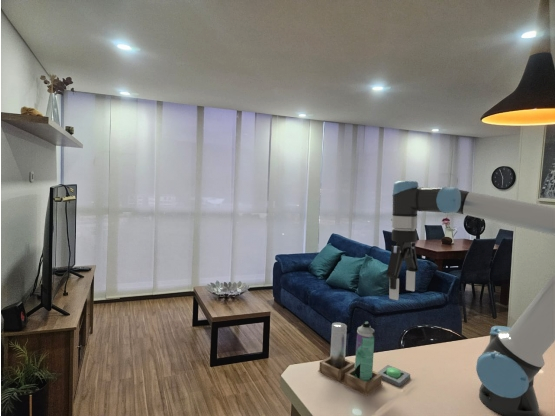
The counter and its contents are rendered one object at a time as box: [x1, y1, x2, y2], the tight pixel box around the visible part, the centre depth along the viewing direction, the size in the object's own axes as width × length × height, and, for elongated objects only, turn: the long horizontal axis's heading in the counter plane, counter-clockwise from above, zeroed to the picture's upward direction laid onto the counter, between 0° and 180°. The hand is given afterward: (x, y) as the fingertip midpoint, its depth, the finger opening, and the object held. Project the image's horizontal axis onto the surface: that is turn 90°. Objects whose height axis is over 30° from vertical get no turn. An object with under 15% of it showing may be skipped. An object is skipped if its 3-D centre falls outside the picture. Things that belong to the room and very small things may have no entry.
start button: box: [386, 366, 401, 379], centre depth 118 cm, size 4×4×3 cm
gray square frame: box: [377, 364, 411, 388], centre depth 118 cm, size 8×8×2 cm
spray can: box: [354, 320, 376, 382], centre depth 113 cm, size 6×6×20 cm
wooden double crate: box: [317, 356, 384, 396], centre depth 117 cm, size 19×10×4 cm, turn 46°
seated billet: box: [329, 321, 348, 369], centre depth 120 cm, size 5×5×16 cm
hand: (402, 294), depth 114 cm, fingers open, 13 cm apart
